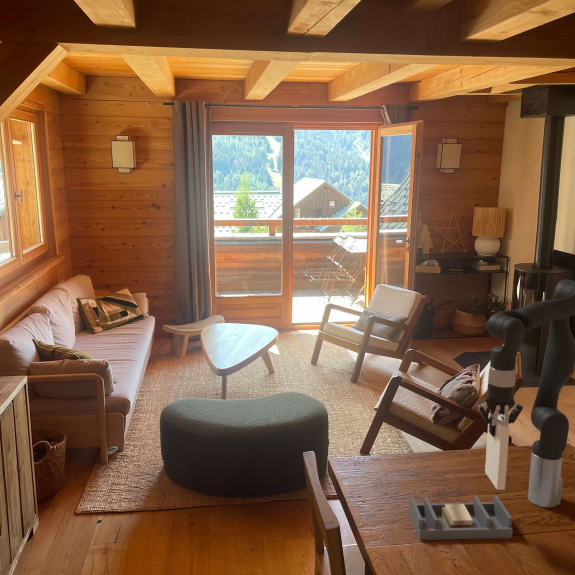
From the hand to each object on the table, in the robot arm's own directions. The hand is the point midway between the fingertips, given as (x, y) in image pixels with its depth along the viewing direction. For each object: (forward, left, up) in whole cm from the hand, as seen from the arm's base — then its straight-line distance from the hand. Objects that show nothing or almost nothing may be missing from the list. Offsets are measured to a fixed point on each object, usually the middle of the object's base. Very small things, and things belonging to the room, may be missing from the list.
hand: (497, 435), depth 174 cm
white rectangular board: (0, 0, -15) cm, 15 cm away
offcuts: (+11, 0, -30) cm, 32 cm away
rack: (+10, 0, -31) cm, 33 cm away
